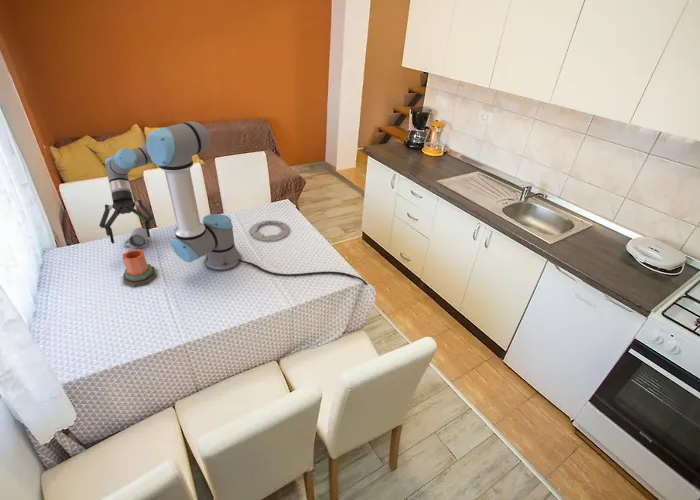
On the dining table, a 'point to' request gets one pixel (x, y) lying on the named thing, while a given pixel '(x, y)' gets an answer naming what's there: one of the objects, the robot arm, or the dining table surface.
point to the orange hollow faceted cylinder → (135, 262)
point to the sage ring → (139, 277)
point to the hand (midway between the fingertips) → (131, 239)
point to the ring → (270, 237)
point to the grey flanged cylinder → (137, 238)
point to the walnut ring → (141, 282)
